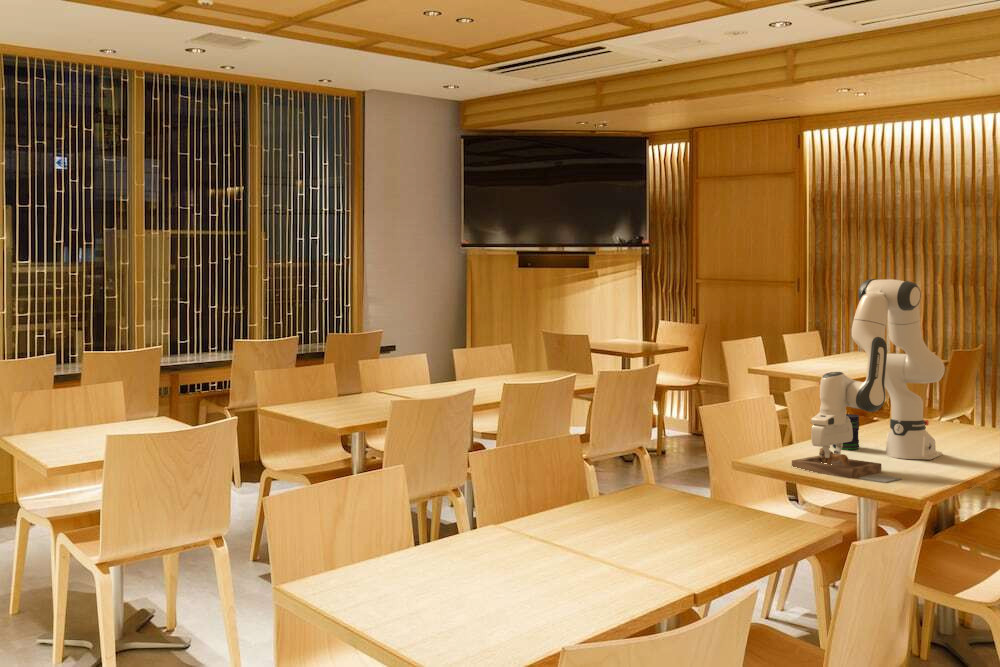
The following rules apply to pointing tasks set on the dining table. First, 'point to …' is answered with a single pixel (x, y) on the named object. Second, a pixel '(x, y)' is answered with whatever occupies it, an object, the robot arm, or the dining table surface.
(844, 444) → the storage jar
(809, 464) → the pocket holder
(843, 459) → the lion figurine
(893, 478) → the rubber mat
